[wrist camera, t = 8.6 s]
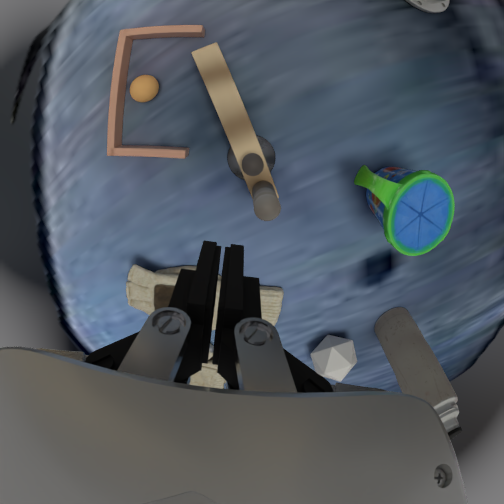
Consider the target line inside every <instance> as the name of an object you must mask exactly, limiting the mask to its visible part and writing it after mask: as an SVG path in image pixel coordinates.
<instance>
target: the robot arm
mask: <svg viewBox="0 0 504 504" xmlns="http://www.w3.org/2000/svg"><path fill="white" fill-rule="evenodd" d="M405 1H407V2H408V3H410V4H411V5H412V6H414V7H416V8H418V9H420V10H422V11H425V12H429V13H439V12H442V11H444V10H446V9H447V7H448V5H449V0H405ZM216 245H217V242H211V241H204V242H203V245H202V249H201V252H200V256H199V259H198V263H197V267H196V270H190V269H181V270H180V273H179V276H178V278H177V281H176V284H175V287H174V290H173V293H172V296H171V299H170V302H169V305H168V307H164V308H160V309H157V310H155V311H154V312H152V313H151V314H150V316H149V317H148V319H147V320H146V322H145V324H144V325H143V327H142V329H141V330H140V331H139V332H137V333H135V334H133V335H130V336H128V337H126V338H124V339H121V340H119V341H117V342H114V343H112V344H110V345H107V346H105V347H103V348H100V349H98V350H96V351H94V352H92V353H91V354H90V355H85V354H84V352H73V351H62V350H51V349H42V348H40V349H34V348H27V347H3V348H0V504H468V501H467V496H466V492H465V487H464V483H463V479H462V476H461V472H460V468H459V465H458V461H457V458H456V455H455V452H454V449H453V446H452V444H451V441H450V438H449V436H448V433H447V431H446V429H445V426H444V424H443V422H442V420H441V418H440V417H439V415H438V413H437V412H436V410H435V409H434V408H433V407H432V405H431V404H429V403H428V402H427V401H425V400H423V399H421V398H419V397H416V396H412V395H408V394H404V393H398V392H390V391H386V390H383V389H377V388H369V387H362V386H355V385H348V384H342V383H336V384H335V385H331V384H330V383H329V382H328V381H327V380H326V379H325V378H323V377H322V376H321V375H319V374H318V373H316V372H315V371H314V370H312V369H311V368H309V367H308V366H307V365H305V364H304V363H302V362H301V361H300V360H298V359H297V358H296V357H294V356H293V355H292V354H290V353H289V352H287V351H286V350H285V349H283V347H282V344H281V341H280V337H279V334H278V332H277V330H276V328H275V327H274V326H273V325H272V324H271V323H270V322H268V321H266V320H264V319H262V313H261V298H260V284H259V278H254V277H246V276H243V267H244V246H242V245H235V244H231V247H225V254H224V261H223V269H222V277H221V285H220V293H219V302H218V311H217V320H216V330H215V340H214V351H213V361H212V364H214V365H218V368H217V373H218V374H219V375H221V376H222V377H223V378H224V379H225V380H226V389H221V388H212V387H204V386H196V385H189V384H190V381H191V376H192V375H194V374H195V373H197V372H199V371H201V370H202V363H206V364H208V357H209V348H210V340H211V332H212V324H213V316H214V308H215V300H216V290H217V281H218V272H219V262H220V254H221V246H216Z"/></svg>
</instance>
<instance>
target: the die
mask: <svg viewBox="0 0 504 504" xmlns="http://www.w3.org/2000/svg"><path fill="white" fill-rule="evenodd" d="M311 358H312V361H313V364H314V368H315V371H316V373H318V374H319V375H321V376H323V377H327V378H330V379H334V380H337V381H342V379H343V378H344V377H345V376H346V375H347V373H348V372H349V371H350V370H351V368H352V367H353V366H354V365H355V363H356V362H357V359H356V354H355V349H354V345H353V340H349V339H344V338H340V337H336V336H332V335H327V336H326V337H325V338H324V339H323V340H322V342H321V343H320V344H319V345H318V346H317V347H316V348H315V349H314V351H313V352H312V353H311Z"/></svg>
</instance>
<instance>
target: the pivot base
mask: <svg viewBox="0 0 504 504" xmlns="http://www.w3.org/2000/svg"><path fill="white" fill-rule="evenodd" d="M256 137H257V140H258V142H259V145H260V147H261V150H262V153H263V155H264V158H265V160H266V163H267V166H268V168H269V171H270V172H271V170H272V169H273V167H274V164H275V152H274V149H273V147H272V145H271V144H270V143H269V142H268V141H267V140H266V139H264V138H263V137H260V136H257V135H256ZM228 164H229V167H230V169H231V171H232V172H233V173H234V174H235V175H236V176H237V177H239V178H241V179H243V180H245V179H244V176H243V174H242V171H241V169H240V166H239V164H238V162H237V159H236V157H235V154H234V152H233V149H232V147H230V149H229V152H228Z"/></svg>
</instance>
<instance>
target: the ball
mask: <svg viewBox="0 0 504 504" xmlns="http://www.w3.org/2000/svg"><path fill="white" fill-rule="evenodd" d="M158 89H159V84H158V81H157V80H156V79H155V78H154V77H153V76H151V75H141V76H139V77H137V78H136V79H135V80H134V81H133V82H132V84H131V86H130V94H131V96H132V98H133V99H134V100H136V101H138V102H147V101H150V100H151V99H153V98H154V97H155V96H156V94H157V93H158Z"/></svg>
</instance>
